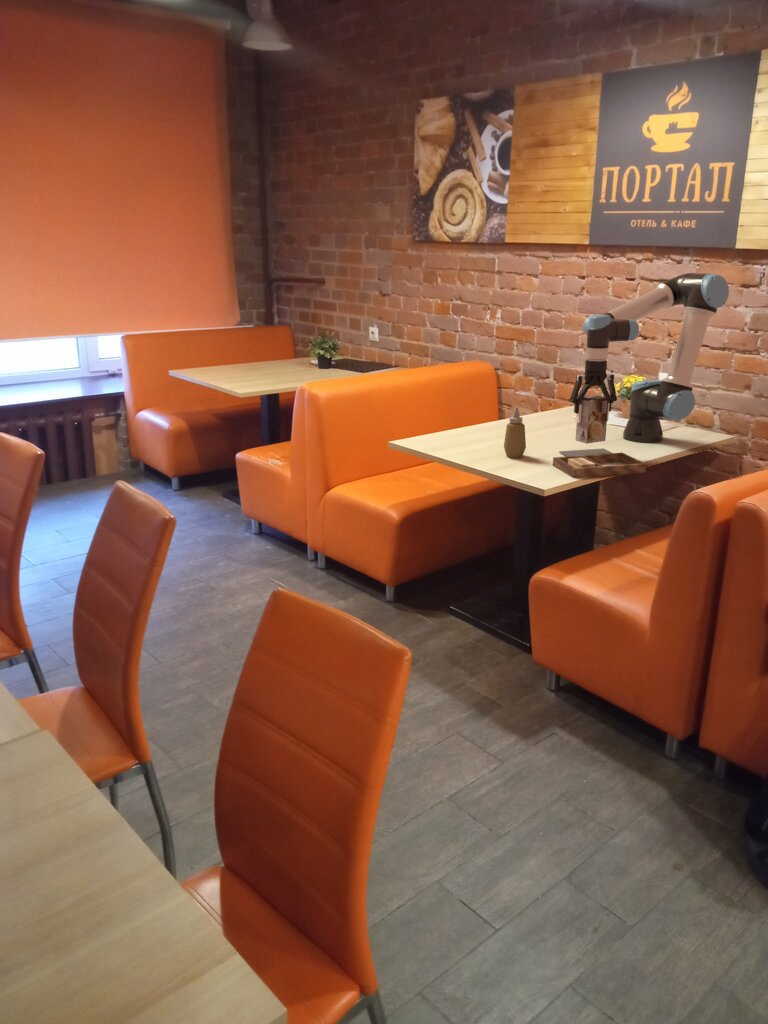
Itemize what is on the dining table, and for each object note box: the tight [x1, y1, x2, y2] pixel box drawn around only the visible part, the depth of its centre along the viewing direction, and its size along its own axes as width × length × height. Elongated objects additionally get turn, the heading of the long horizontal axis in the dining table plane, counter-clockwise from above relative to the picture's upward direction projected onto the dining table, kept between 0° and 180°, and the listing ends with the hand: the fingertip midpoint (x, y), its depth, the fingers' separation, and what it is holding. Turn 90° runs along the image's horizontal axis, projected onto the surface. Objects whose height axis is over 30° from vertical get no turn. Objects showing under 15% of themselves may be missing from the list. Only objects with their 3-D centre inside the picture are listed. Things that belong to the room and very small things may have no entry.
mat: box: [559, 448, 613, 457], centre depth 302 cm, size 18×13×1 cm
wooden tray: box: [552, 452, 647, 479], centre depth 284 cm, size 27×16×3 cm, turn 103°
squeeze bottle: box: [503, 407, 527, 459], centre depth 299 cm, size 8×8×18 cm
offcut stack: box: [568, 458, 595, 468], centre depth 282 cm, size 6×10×4 cm, turn 17°
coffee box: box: [575, 395, 609, 444], centre depth 298 cm, size 9×6×16 cm
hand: (591, 421), depth 298 cm, fingers closed on coffee box, 10 cm apart
